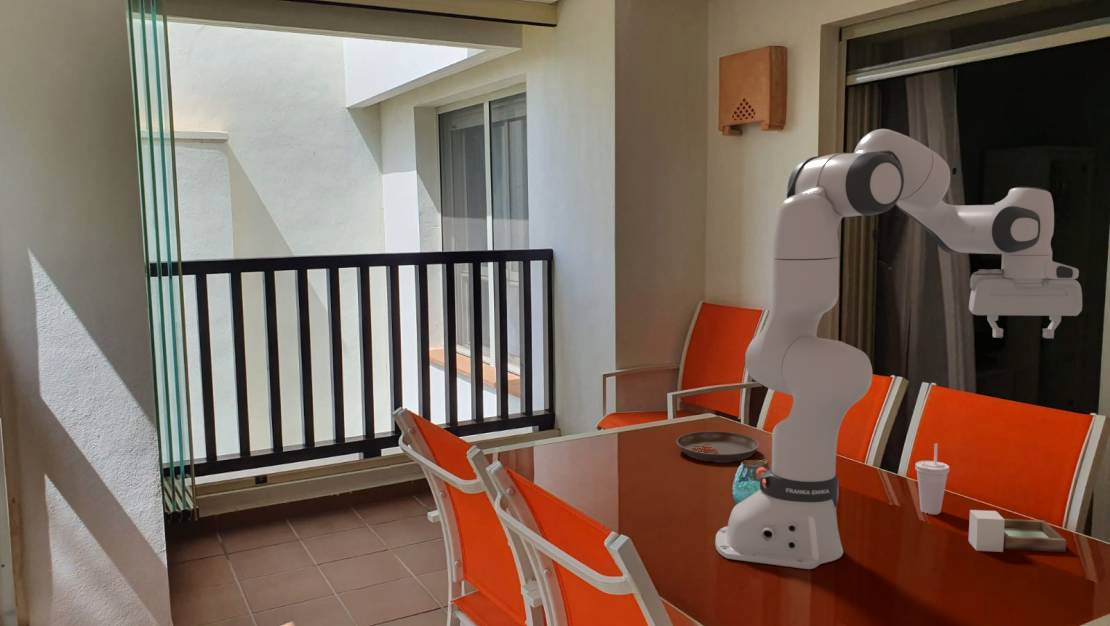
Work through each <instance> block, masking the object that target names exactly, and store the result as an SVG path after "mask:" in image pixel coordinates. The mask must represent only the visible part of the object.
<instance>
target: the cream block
mask: <svg viewBox="0 0 1110 626" xmlns="http://www.w3.org/2000/svg"><path fill="white" fill-rule="evenodd" d="M968 519H969V523H968V524H969V526H968V542H969V544H970V545H971V546H972V547H973V548H974V549H975V551H977V552H998V553H999V552H1000V553H1004V547H1003V543H1004V522H1005V520H1004V519H1005V518H1004V517H1003V516H1002V515H1000V513H999V512H998V511H996V510H983V509H982V510H980V509H970V510H969V518H968Z"/></svg>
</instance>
